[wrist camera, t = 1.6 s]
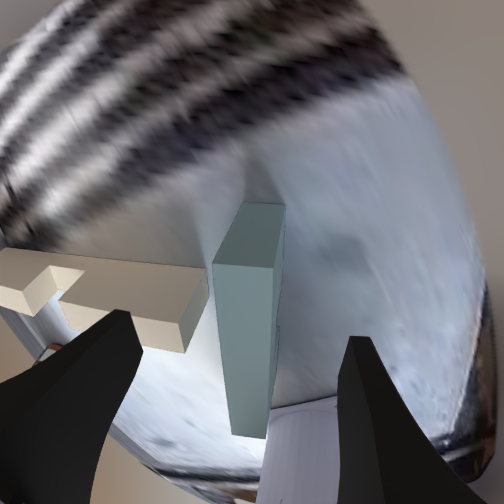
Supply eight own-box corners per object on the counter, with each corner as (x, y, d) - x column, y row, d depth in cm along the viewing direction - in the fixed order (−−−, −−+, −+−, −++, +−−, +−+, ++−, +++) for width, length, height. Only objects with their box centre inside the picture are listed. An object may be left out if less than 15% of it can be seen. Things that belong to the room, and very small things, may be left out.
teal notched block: (276, 370, 21) (265, 439, 16) (247, 367, 21) (231, 434, 16) (285, 204, 15) (273, 268, 10) (243, 202, 15) (211, 263, 10)
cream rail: (206, 268, 17) (178, 323, 13) (209, 297, 18) (184, 353, 14) (6, 247, 20) (-30, 276, 16) (13, 267, 21) (-20, 298, 17)
